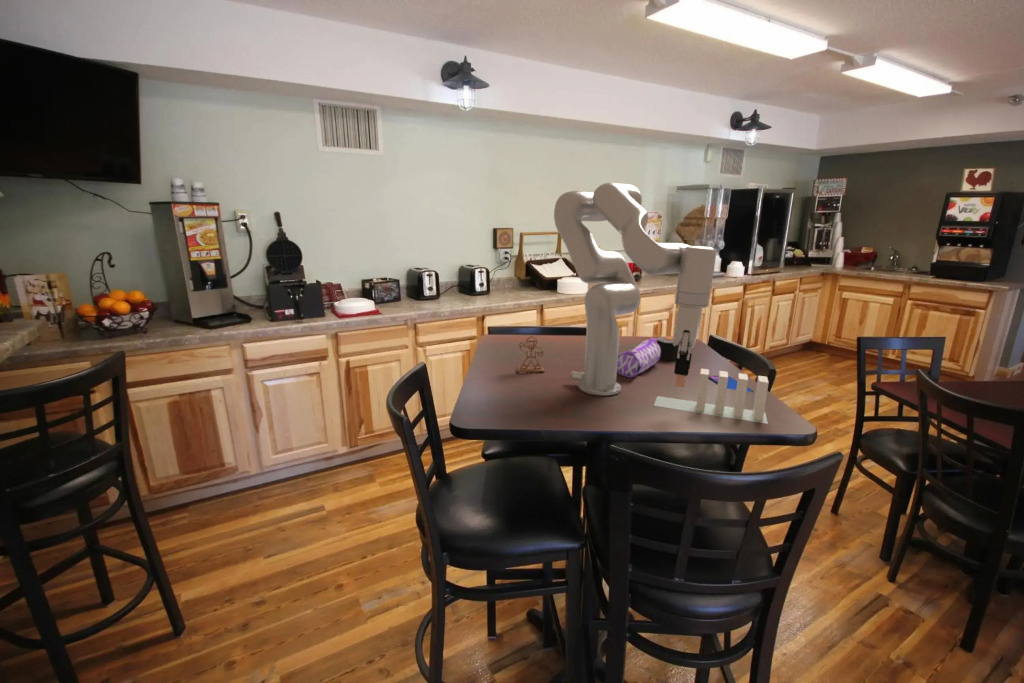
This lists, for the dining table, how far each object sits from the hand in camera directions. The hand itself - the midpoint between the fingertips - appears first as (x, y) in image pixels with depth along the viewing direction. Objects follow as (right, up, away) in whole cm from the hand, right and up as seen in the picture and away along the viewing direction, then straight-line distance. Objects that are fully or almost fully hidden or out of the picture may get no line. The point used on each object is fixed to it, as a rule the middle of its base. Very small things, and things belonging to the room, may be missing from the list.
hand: (682, 370), depth 116 cm
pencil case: (+1, -3, +44) cm, 44 cm away
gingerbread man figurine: (-36, -3, +40) cm, 54 cm away
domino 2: (+8, -10, +8) cm, 15 cm away
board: (+9, -12, +7) cm, 17 cm away
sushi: (+16, +1, +58) cm, 61 cm away
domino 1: (0, -3, +1) cm, 4 cm away
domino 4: (+16, -11, +4) cm, 20 cm away
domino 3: (+12, -11, +6) cm, 17 cm away
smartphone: (+26, -7, +30) cm, 40 cm away
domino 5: (+20, -12, +2) cm, 23 cm away
